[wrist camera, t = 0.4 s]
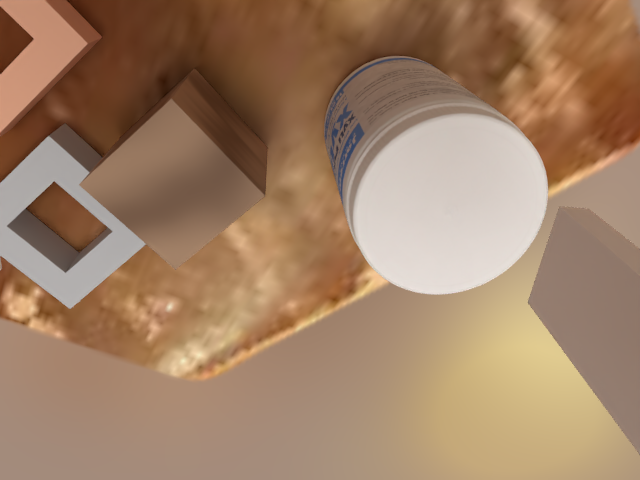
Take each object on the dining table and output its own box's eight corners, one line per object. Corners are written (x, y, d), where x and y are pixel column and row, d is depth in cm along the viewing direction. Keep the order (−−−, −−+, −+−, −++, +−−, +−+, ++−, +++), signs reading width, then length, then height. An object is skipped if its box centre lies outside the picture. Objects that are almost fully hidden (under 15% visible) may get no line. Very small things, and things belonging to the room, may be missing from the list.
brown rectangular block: (120, 137, 38) (78, 184, 30) (194, 68, 36) (171, 98, 28) (195, 208, 40) (175, 269, 32) (267, 147, 39) (265, 195, 31)
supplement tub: (302, 85, 37) (316, 153, 24) (438, 30, 36) (531, 70, 23) (350, 209, 41) (385, 324, 28) (473, 163, 40) (568, 260, 27)
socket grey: (-20, 205, 39) (-42, 223, 37) (65, 123, 37) (48, 135, 34) (82, 287, 43) (70, 308, 40) (165, 215, 41) (158, 233, 38)
